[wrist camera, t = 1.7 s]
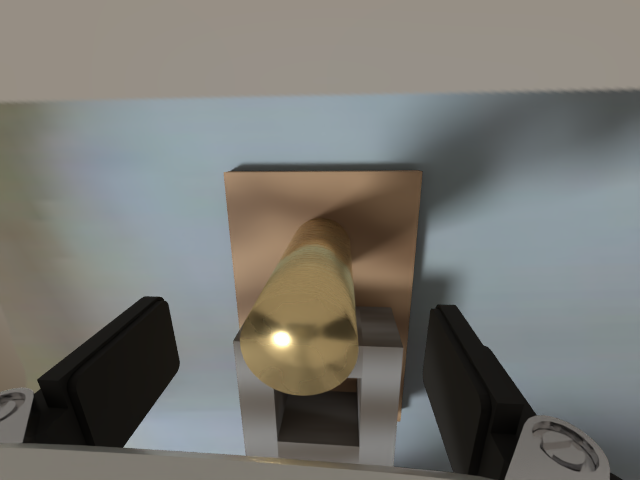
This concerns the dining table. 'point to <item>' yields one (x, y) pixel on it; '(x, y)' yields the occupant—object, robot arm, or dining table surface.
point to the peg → (305, 315)
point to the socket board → (370, 303)
